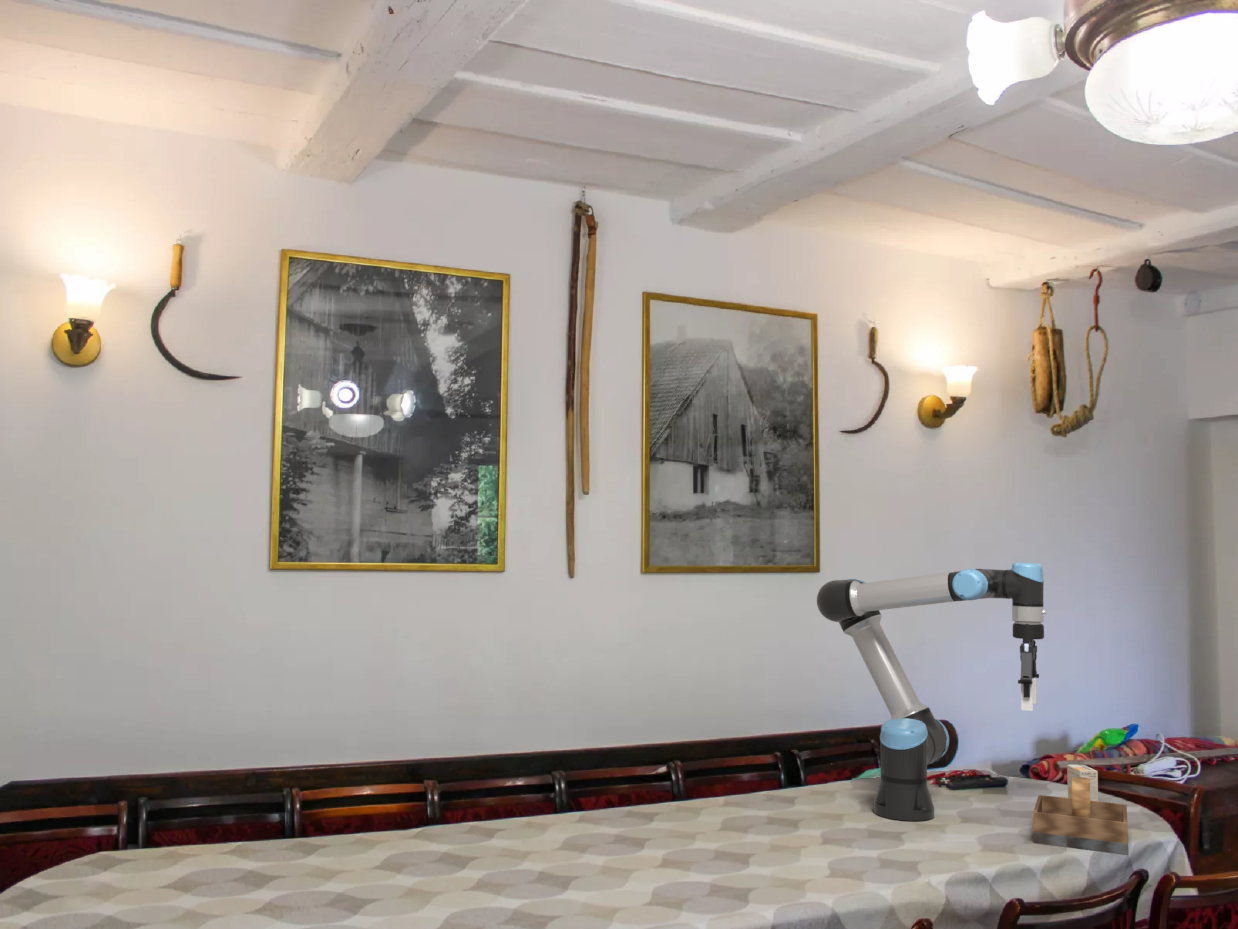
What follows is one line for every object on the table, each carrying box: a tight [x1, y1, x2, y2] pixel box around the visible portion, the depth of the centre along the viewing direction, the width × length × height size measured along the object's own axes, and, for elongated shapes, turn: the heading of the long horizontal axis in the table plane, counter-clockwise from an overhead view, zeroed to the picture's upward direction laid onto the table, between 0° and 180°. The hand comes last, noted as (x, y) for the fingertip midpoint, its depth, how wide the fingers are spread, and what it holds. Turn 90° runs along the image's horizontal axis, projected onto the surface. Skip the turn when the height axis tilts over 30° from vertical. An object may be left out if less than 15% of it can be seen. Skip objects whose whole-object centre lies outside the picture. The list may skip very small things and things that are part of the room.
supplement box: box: [1066, 764, 1099, 801], centre depth 268 cm, size 8×5×13 cm, turn 179°
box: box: [1032, 794, 1129, 856], centre depth 249 cm, size 20×20×7 cm
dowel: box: [1072, 777, 1091, 818], centre depth 250 cm, size 4×4×14 cm
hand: (1029, 706), depth 266 cm, fingers open, 13 cm apart
